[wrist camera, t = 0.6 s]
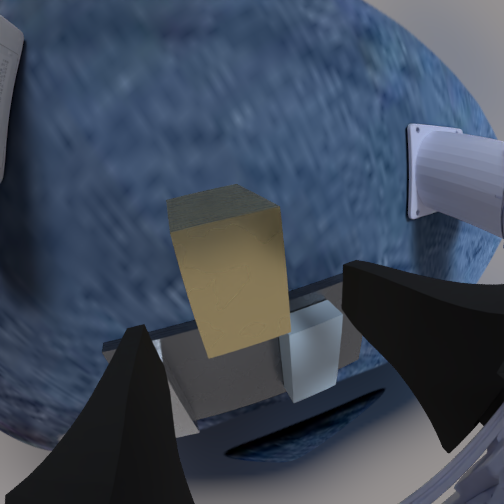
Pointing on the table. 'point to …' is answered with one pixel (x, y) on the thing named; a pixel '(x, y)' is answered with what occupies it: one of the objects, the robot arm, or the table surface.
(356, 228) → the table surface
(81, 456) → the robot arm
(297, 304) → the vise
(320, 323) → the block
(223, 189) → the brass block
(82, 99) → the table surface
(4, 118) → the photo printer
